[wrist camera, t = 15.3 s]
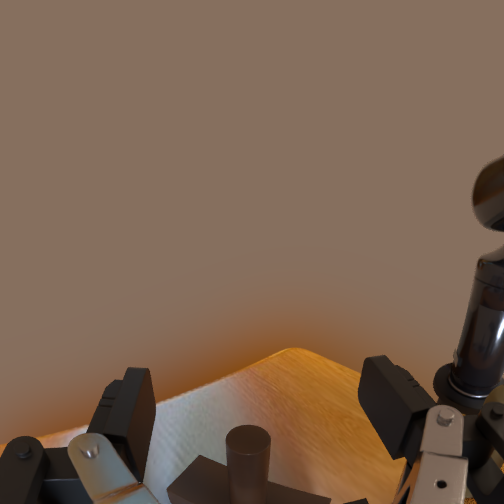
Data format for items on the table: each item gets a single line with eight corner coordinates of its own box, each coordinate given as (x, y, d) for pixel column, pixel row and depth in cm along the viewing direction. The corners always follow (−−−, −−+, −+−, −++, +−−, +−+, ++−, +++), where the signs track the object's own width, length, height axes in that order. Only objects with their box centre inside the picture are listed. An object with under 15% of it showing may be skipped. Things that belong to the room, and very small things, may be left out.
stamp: (202, 475, 25) (191, 391, 23) (324, 517, 20) (351, 437, 17) (172, 508, 21) (148, 427, 18) (303, 560, 16) (329, 495, 13)
